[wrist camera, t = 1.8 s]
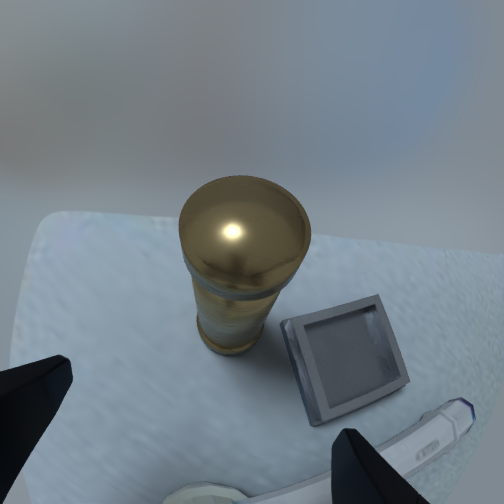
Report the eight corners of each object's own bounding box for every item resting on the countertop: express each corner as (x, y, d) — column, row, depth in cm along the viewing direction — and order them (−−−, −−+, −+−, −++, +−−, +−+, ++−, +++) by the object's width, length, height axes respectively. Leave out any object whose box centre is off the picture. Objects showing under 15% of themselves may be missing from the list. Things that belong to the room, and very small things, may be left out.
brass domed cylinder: (205, 361, 20) (189, 297, 9) (192, 301, 22) (172, 183, 11) (268, 347, 21) (330, 269, 10) (252, 290, 23) (286, 170, 12)
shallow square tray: (310, 425, 18) (320, 426, 16) (279, 324, 22) (286, 315, 20) (398, 387, 20) (413, 383, 18) (367, 299, 24) (379, 289, 22)
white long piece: (481, 436, 14) (171, 579, 6) (430, 442, 19) (170, 538, 11) (471, 385, 17) (143, 511, 9) (420, 399, 22) (152, 482, 14)
